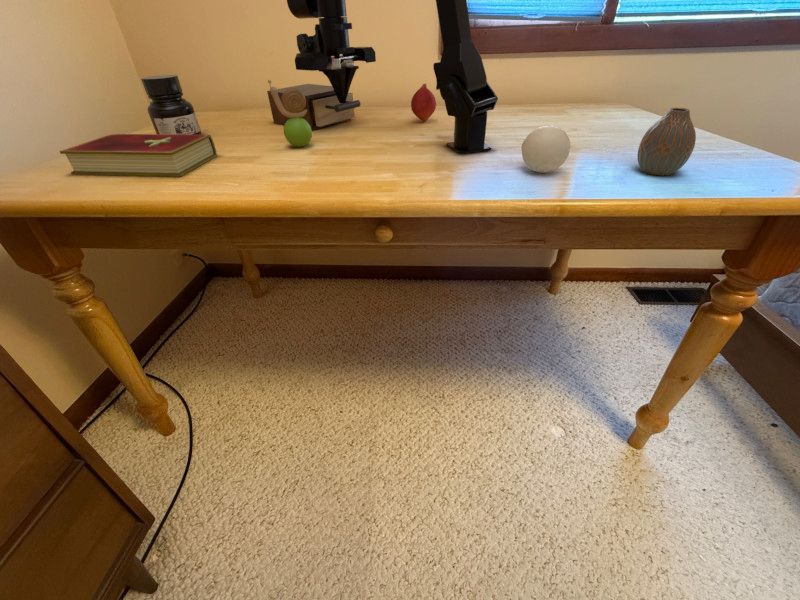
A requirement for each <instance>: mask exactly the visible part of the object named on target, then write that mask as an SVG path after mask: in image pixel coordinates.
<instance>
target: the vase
mask: <svg viewBox="0 0 800 600" xmlns="http://www.w3.org/2000/svg"><path fill="white" fill-rule="evenodd" d="M696 139H697V134H696V129H695V126H694V124H693V122H692V119H691V111H690V109H688V108H684V107H671V108H669V109H668V111H667V112H666V113H665V114H664V115H663V116H662V117H661V118H660V119H659V120H657V121H655V123H653V124H652V125H651V126H650V127H649V128H648V129H647V131H646V132H645V133H644V135H643V136H642V138H641V140H640V143H639V146H638V149H637V164H638V166H639V168H640V169H641V171H642V172H644V173H646V174H649V175H653V176H670V175H672V174H674V173H676V172H677V171H679V170H680V169H681V168H682V167H684V165H685V164H687V162H688V161H689V159H690V158H691V156H692V154H693V152H694V149H695V146H696Z"/></svg>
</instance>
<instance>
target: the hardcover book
mask: <svg viewBox="0 0 800 600" xmlns="http://www.w3.org/2000/svg"><path fill="white" fill-rule="evenodd" d="M59 153H60V154H61V155H65V157H66V158H67V160H68V162H69V163H70V166H71V168H72V169H73V171H71V172H70V173H71V175H79V176H81V175H82V176H83V175H84V176H130V177H131V176H132V177H175V178H176V177H177V178H180V177H183V176H184V175H186V174H188V173H190V172H191V171H194V170H195V169H196V168H199V167H200V166H202V165H204V164H206V163H208V162H209V161H211V160H213V159H215V158H216V157H217V156H218V154H217V149H216V145H215V142H214V139H213V137H212V135H211V134H201V135H185V134H156V133H152V134H151V133H142V134H141V133H109V134H106V135H104V136H100V137H97V138H95V139H92V140H89V141H86V142H82V143H80V144H77V145H74V146H71V147H68V148H65V149H63V150H60V151H59Z"/></svg>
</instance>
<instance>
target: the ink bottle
mask: <svg viewBox="0 0 800 600" xmlns="http://www.w3.org/2000/svg"><path fill="white" fill-rule="evenodd" d="M140 81H141V83H142V85H143V88H144V91H145V93H146V95H147V98H148V99H149V100H151V101H150V102H149V105H148V106H147V110H146V111H147V114H148V116H149V118H150V121H151V124H152V127H153V129H154V132H155V134H185V135H202V131H201V130H202V129H201V126H200V124H199V120H198V117H197V115H196V114H197V113H196V112H195V109H194V106H193V104H192V103H191V102H190V101H188V100H186V98H184V97H183V96H184V92H183V89H182V85H181V83H180V80H179V76H178V75H177V74H159V75H150V76H144V77H141V78H140Z"/></svg>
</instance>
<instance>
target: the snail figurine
mask: <svg viewBox="0 0 800 600" xmlns="http://www.w3.org/2000/svg"><path fill="white" fill-rule="evenodd" d="M267 82H268V84H269V87H270V88H269V91H271V94H272V96H273V99H274V101H275V104H276V106H277V108H278V110H279V111H280V112H281V114H283V115H284V116H286V117H288V118H290V119H289V120H288V121H287V122H286V123H285V125H283V135H284V139H285V140H286V141H287V142H288V143H289V144H290V145H291V146H293V147H297V148H300V147H301V148H302V147H305V146H307V145H308V144H309V143H310V142H311V140H312V137H313V130H312V129H311V127H310V125H309V123H308V122H307V121H306V120H305V119H303V118H301V117H303V116H304V115H305V114H306V113H307V110H303V109H304V108H305V106H306V99H305V96H304V94H303V93H302V92H301V91H300V90H298V89H296V88H289V89H287V90H286V91H285V92H284V93H283V95H282V99H281V100H280V98H279V96H278V90H277V89H278V88H277V87H276V86H271V84H272V80H271V79H268V80H267Z"/></svg>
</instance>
